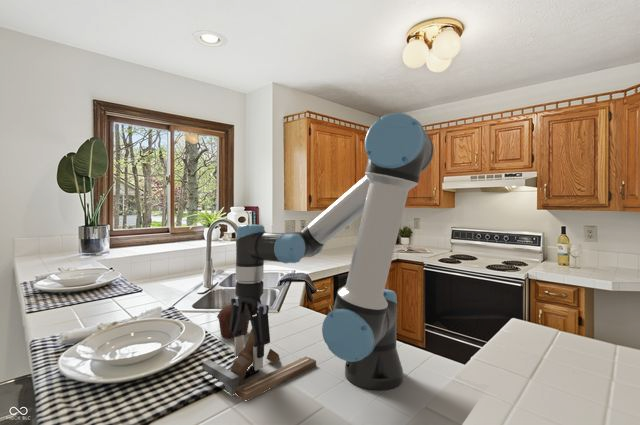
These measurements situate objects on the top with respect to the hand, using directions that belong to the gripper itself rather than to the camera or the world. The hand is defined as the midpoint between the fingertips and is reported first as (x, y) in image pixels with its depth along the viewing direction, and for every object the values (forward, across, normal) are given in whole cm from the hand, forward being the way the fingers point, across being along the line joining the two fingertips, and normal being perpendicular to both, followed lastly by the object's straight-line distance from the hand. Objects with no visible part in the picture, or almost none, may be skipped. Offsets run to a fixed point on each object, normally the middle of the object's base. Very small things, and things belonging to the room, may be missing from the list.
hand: (248, 364), depth 90 cm
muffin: (+2, +25, -13) cm, 29 cm away
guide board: (+1, -4, -2) cm, 5 cm away
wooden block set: (+1, -2, 0) cm, 2 cm away
